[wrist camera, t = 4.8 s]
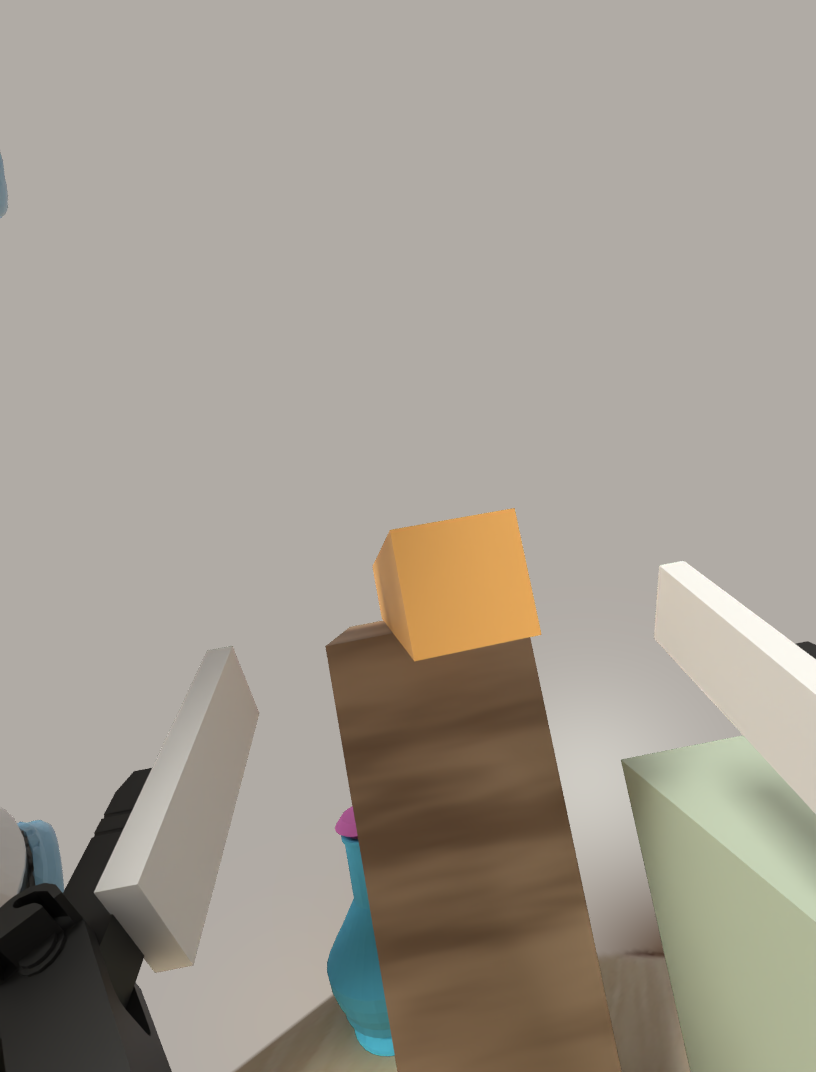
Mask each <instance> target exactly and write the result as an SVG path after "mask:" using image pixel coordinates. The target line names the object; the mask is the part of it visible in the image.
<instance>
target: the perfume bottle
mask: <svg viewBox="0 0 816 1072" xmlns="http://www.w3.org/2000/svg"><path fill="white" fill-rule="evenodd" d="M335 830H336V832H337V833H338V834H340V835H341V837H342V842H343V843H344V844H345V847H346V853H347V859H348V865H349V871H350V877H351V883H352V889H353V895H354V899H353V902H352V904H351V906H350V908H349V911H348V913H347V915H346V918H345V920H344V923H343V925H342V927H341V929H340V931H339V933H338V935H337V937H336V940H335V942H334V944H333V947H332V949H331V951H330V954H329V958H328V962H327V973H328V976H329V981H330V984H331V988H332V992H333V994H334V996H335V998H336V1000H337V1002H338V1004H339V1005H340V1007H341V1009H342V1010H343V1012H344V1013H345V1014H346V1016H347V1019H348V1021H349V1023H350V1024H351V1026H352V1027H353V1028H354V1029H355V1034H356V1037H357V1039H358V1041H359V1043H360V1045H361V1046H362V1047H363V1048H364V1049H365V1050H367V1051H369V1052H370V1053H372V1054H375V1055H379V1056H394V1055H395V1054H394V1048H393V1042H392V1036H391V1030H390V1024H389V1018H388V1012H387V1006H386V1000H385V995H384V989H383V983H382V977H381V971H380V965H379V959H378V953H377V947H376V941H375V936H374V930H373V924H372V918H371V912H370V906H369V900H368V894H367V888H366V882H365V876H364V871H363V865H362V859H361V853H360V847H359V841H358V835H357V829H356V823H355V817H354V812H353V806H352V807H351V808H349V809H347V810H346V811H345V812H344V813H343V814H342V816H341V817H340V819H339V821H338V822H337V824H336V827H335Z"/></svg>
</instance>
